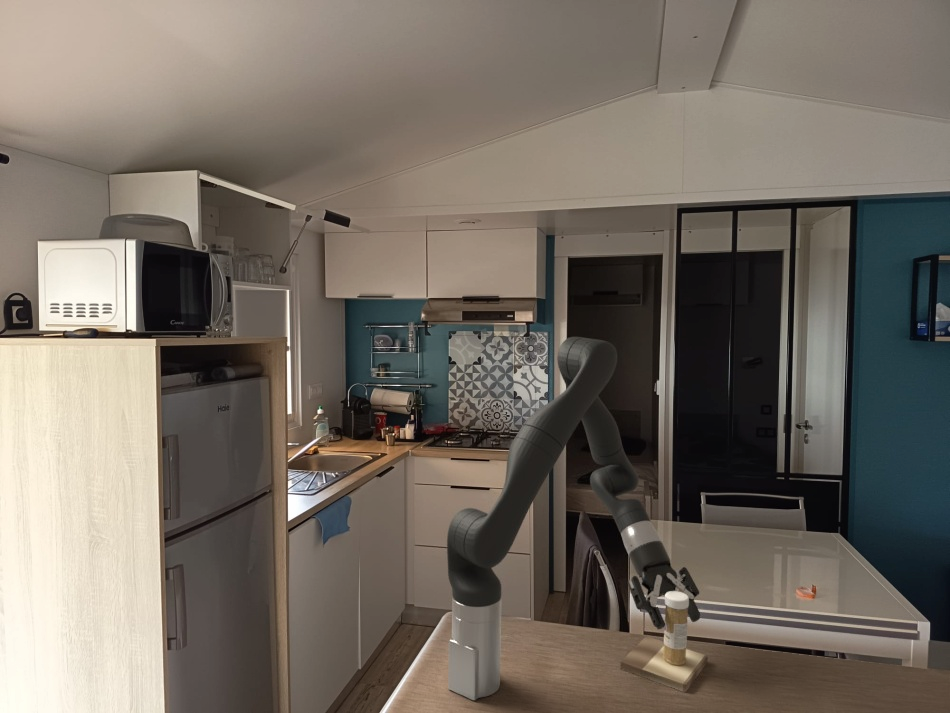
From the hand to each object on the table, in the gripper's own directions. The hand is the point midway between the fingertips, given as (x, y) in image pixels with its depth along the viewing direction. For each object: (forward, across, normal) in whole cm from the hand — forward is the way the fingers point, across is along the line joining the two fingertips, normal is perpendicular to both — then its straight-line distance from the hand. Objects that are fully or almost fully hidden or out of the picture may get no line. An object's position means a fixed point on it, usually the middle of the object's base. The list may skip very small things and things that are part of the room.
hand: (679, 624), depth 130 cm
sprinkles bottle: (+5, 0, +6) cm, 8 cm away
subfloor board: (+5, -1, +8) cm, 10 cm away
